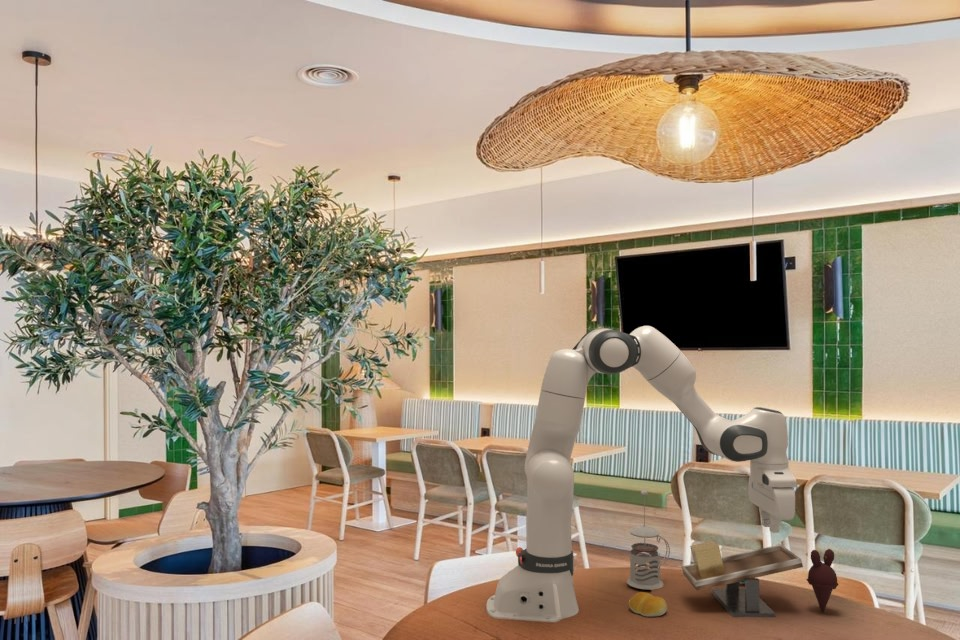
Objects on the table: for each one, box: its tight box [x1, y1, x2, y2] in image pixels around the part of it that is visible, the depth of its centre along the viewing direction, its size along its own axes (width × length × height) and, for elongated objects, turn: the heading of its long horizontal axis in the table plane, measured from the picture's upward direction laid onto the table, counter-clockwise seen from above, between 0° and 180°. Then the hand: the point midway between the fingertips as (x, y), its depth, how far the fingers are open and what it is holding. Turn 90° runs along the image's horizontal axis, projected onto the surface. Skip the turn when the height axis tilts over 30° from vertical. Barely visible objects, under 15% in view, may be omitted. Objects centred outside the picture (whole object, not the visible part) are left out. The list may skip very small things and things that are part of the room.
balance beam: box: [681, 544, 804, 592], centre depth 174 cm, size 26×12×3 cm, turn 89°
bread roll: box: [628, 591, 668, 618], centre depth 169 cm, size 8×9×4 cm
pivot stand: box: [711, 577, 777, 618], centre depth 174 cm, size 10×16×9 cm, turn 179°
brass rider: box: [689, 540, 725, 579], centre depth 174 cm, size 6×4×7 cm, turn 89°
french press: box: [626, 489, 671, 590], centre depth 190 cm, size 10×12×25 cm
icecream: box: [806, 548, 839, 613], centre depth 169 cm, size 7×7×15 cm
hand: (770, 529), depth 174 cm, fingers open, 3 cm apart
